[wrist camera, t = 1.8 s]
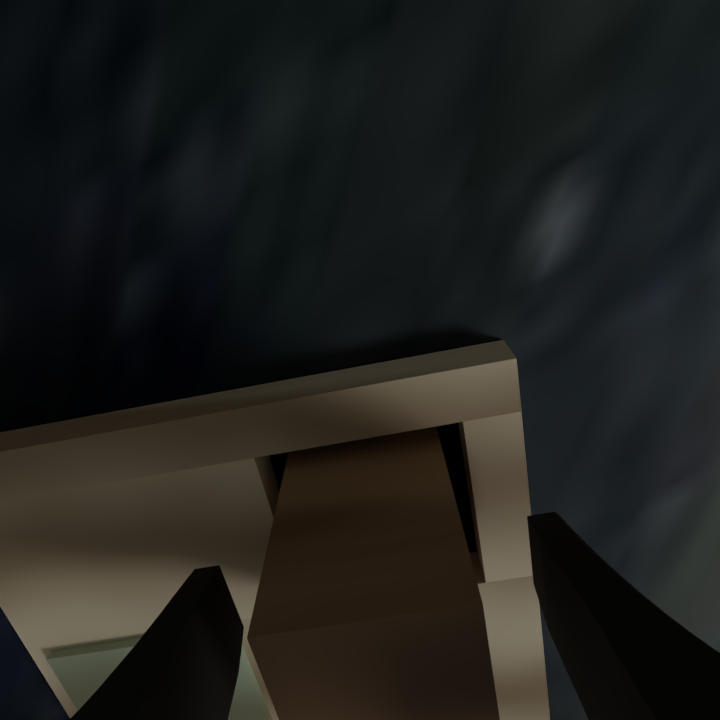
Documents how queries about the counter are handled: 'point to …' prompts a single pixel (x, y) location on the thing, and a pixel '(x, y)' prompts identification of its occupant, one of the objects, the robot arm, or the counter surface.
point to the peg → (371, 589)
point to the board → (246, 511)
